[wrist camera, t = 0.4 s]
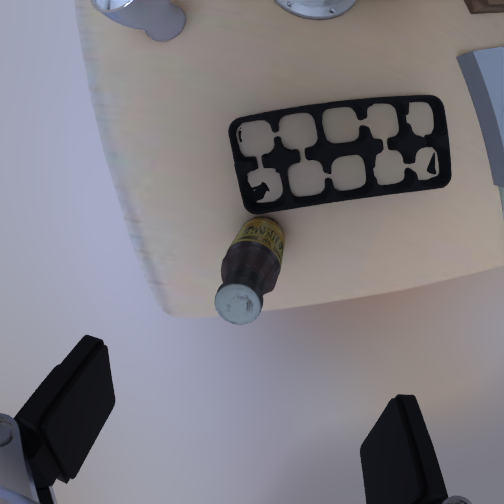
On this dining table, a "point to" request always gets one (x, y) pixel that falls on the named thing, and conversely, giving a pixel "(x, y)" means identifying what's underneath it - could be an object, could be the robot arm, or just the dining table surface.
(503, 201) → the tray
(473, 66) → the board
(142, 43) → the dining table surface
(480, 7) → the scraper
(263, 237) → the sauce bottle
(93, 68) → the dining table surface
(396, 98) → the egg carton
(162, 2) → the beer glass
